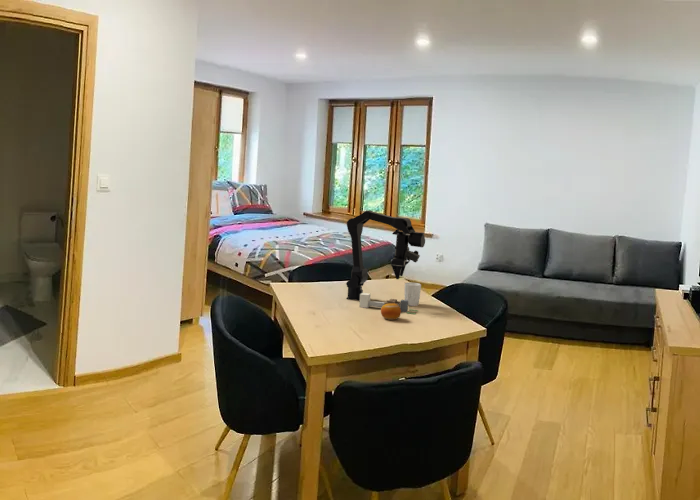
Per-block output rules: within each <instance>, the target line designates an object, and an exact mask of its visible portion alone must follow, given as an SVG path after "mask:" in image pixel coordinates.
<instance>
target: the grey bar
mask: <svg viewBox="0 0 700 500" xmlns="http://www.w3.org/2000/svg"><path fill="white" fill-rule="evenodd" d="M385 302H386V301H385ZM385 302H383V301H374V300H371V293H367V292H363V293H361V294H360V300H359V304H358V305H359V306H358V307H359V308H363V309H369V308H370V307H375V308H382V306H383V305H384V303H385ZM398 305H399V304H398Z"/></svg>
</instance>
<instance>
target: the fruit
mask: <svg viewBox="0 0 700 500" xmlns="http://www.w3.org/2000/svg"><path fill="white" fill-rule="evenodd" d="M401 313H402V312H401V309H400V307H399V305H397V304H395V303H388V304H385V305H383V306H382V307H380V315H381V316H382V318H384V319H385V320H389V321H394V320H397V319H399V318H400V317H401Z"/></svg>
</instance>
